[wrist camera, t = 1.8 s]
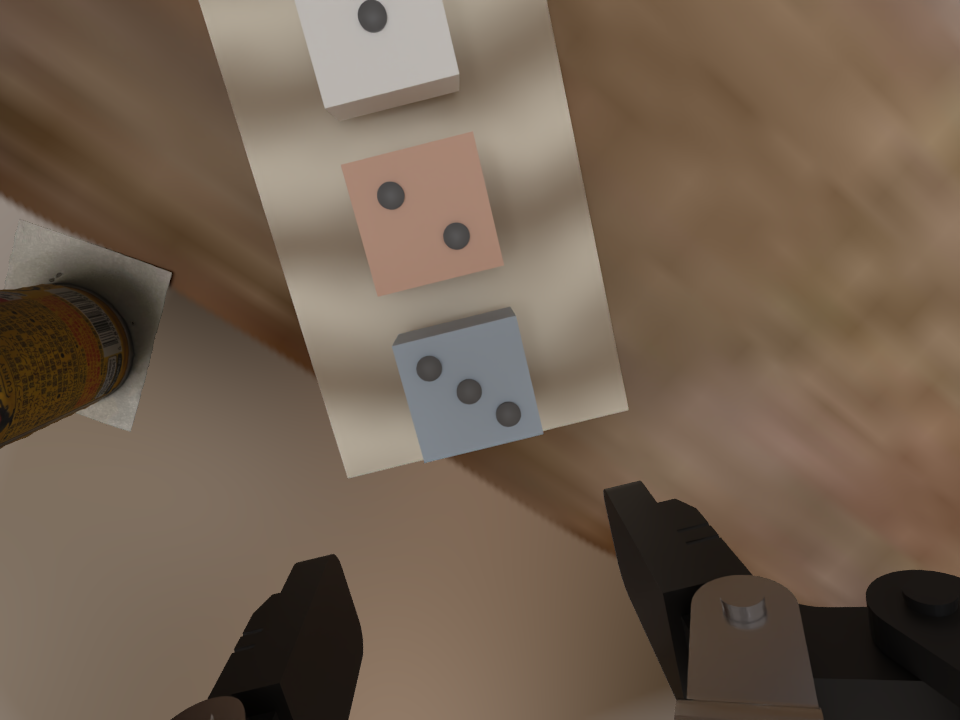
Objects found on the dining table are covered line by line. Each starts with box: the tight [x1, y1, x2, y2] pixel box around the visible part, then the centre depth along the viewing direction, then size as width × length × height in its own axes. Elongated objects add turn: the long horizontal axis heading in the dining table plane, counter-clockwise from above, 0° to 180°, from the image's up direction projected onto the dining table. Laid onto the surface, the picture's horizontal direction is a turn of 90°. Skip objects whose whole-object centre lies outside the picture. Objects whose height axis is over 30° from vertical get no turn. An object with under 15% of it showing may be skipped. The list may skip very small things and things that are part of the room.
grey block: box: [392, 307, 544, 463], centre depth 26 cm, size 5×5×3 cm
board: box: [199, 0, 629, 478], centre depth 28 cm, size 22×14×4 cm, turn 14°
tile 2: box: [341, 131, 504, 297], centre depth 24 cm, size 5×5×3 cm
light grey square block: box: [294, 0, 459, 121], centre depth 23 cm, size 5×5×3 cm
